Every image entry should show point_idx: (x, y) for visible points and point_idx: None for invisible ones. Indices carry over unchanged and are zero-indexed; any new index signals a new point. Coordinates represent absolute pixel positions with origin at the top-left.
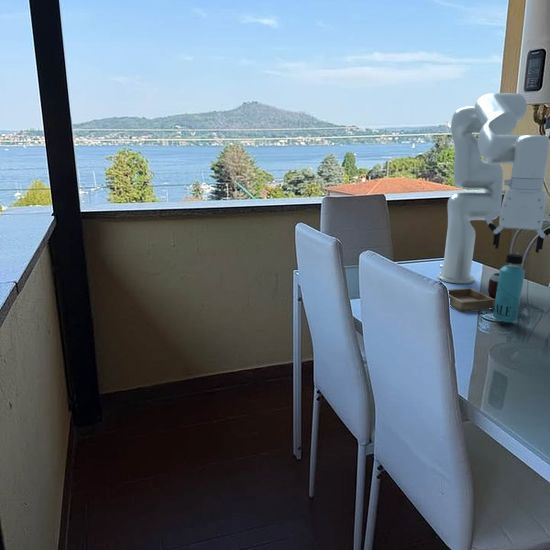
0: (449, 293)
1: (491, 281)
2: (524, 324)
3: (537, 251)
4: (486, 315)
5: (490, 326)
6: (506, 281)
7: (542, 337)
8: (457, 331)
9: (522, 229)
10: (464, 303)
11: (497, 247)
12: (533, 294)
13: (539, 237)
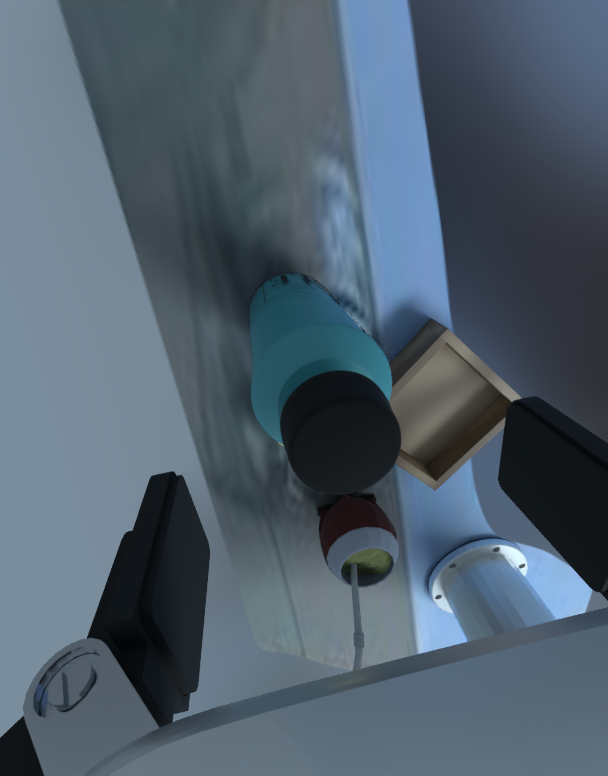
0: (490, 419)
1: (389, 527)
2: (229, 340)
3: (161, 478)
4: None
5: (320, 242)
6: (326, 310)
7: (145, 251)
8: (416, 96)
9: (414, 659)
10: (437, 336)
11: (521, 405)
12: (270, 588)
13: (136, 643)
